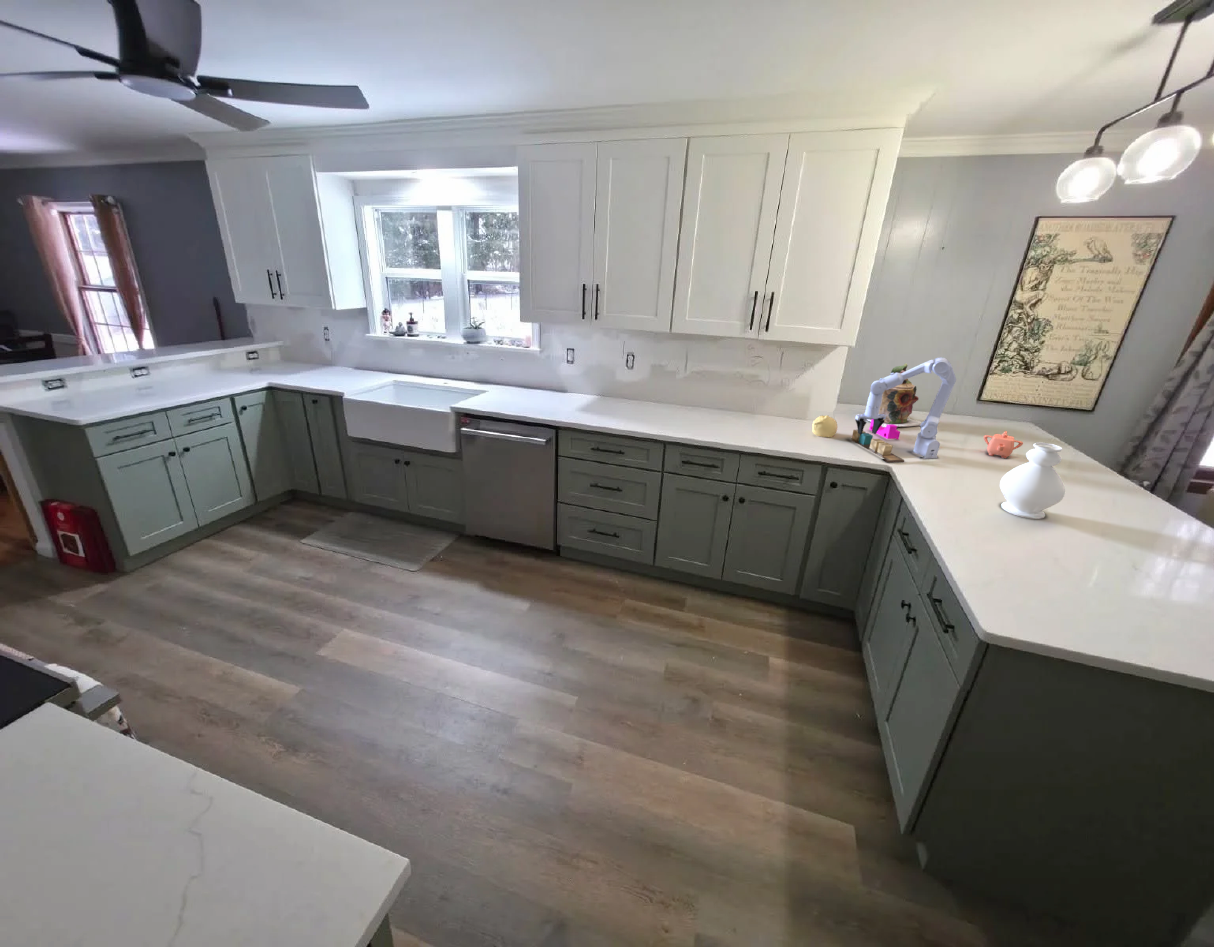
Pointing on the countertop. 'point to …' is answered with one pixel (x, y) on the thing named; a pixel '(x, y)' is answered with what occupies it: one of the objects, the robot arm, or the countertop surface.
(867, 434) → the teal cube
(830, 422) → the pale yellow lumpy ball
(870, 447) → the board
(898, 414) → the cookie jar
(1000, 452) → the teapot
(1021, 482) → the decorative vase
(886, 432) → the toy block
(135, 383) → the countertop surface
